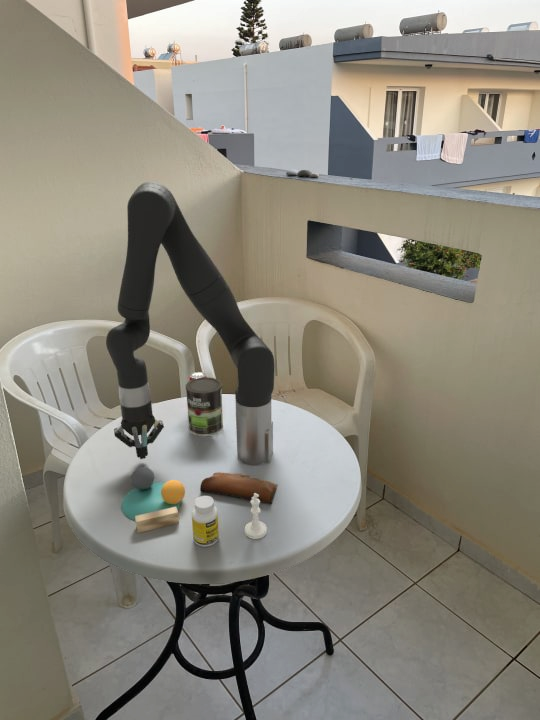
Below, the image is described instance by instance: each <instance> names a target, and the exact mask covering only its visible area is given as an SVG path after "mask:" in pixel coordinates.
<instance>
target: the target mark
mask: <svg viewBox="0 0 540 720" xmlns="http://www.w3.org/2000/svg"><path fill="white" fill-rule="evenodd" d="M165 483H166V482H160V481H157V482H156V481H154V482H153V484H152V486H151V487H149V488H148V489H145V490H139V489H136V488H135V487H133V489H131V490H129V492H128V493H127V494H126V495H125V496H124V497H123V499H122V501H121V510H122V513H123V514H124V516H126V518H129V520H132V521H135V522H136V519H135V516H138V515H142V514H146V513H151V512H155V511H159V510H164V509H168V508H172V507H177V510H178V509H180V506H181V505H182V502H183V499H182V500H181V501H180V502H179V503H177V504H168V503H166V502H165V501H164V500H163V498H162V496H161V490H162V487H163V485H164V484H165Z"/></svg>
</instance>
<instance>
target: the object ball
mask: <svg viewBox="0 0 540 720" xmlns="http://www.w3.org/2000/svg"><path fill="white" fill-rule="evenodd" d="M164 483H165V484H164V485H163V487H162V490H161V496H162V498H163V500H164V501H165V502H166V503H168V504H177V503H179V502H180V501H181V500H182V501H183V500H184V497H185V493H186V489H185V486H184V484H183V483H182V482H181V481H179V480H176V479H170V480H168V481H167V482H164Z"/></svg>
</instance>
